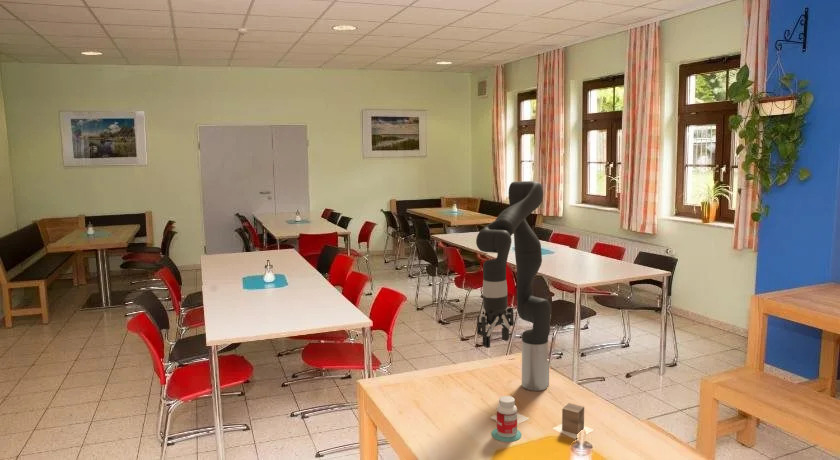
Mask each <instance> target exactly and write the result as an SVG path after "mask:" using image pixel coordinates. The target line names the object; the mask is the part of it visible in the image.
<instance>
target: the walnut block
mask: <svg viewBox="0 0 840 460" xmlns="http://www.w3.org/2000/svg"><path fill="white" fill-rule="evenodd" d="M561 413H562V417H561V424H562V430H563V431H567V432H570V433H574V434H578V433H579V432H580V431H581V430H583V429H584V426H585V406H582V405H579V404H575V403H570V402H568V403H567V404H566V405H565V406H563V407H562V412H561Z"/></svg>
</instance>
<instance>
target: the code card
mask: <svg viewBox="0 0 840 460" xmlns="http://www.w3.org/2000/svg"><path fill="white" fill-rule="evenodd" d="M489 418H490V419H492V420H494V421H496V422H497V414H495V415H492V416H490V417H489ZM527 420H530V417H527V416H525V415H522V414H521V413H519V412H517V425H518V424H521V423H523V422H525V421H527Z"/></svg>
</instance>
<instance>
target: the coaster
mask: <svg viewBox="0 0 840 460" xmlns="http://www.w3.org/2000/svg"><path fill="white" fill-rule="evenodd" d="M491 436H492V438H493V439H495V440H498V441H499V442H500V441H501V442H504V443H506V442H507V443H511V442H517V441H519V440H520V439H521V438H522V432H521V431H520V430H519V429H517V434H516V435H515V436H514V437H510V438H506V437H501V436H500V435H498V433H497V427H496V428H494V429H493V430H492V431H491Z"/></svg>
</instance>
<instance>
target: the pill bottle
mask: <svg viewBox="0 0 840 460" xmlns="http://www.w3.org/2000/svg"><path fill="white" fill-rule="evenodd" d="M498 403H499V404H498V405H497V406H496V415H497V421H496V428H497V433H498V435H500V436H501V437H506V438H510V437H514V436H515V435H516V434H517V430H518V424H517V413H518V408H517V406H516V400H515V398H514V397H513V396H511V395H502V396H500V397H498Z"/></svg>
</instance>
